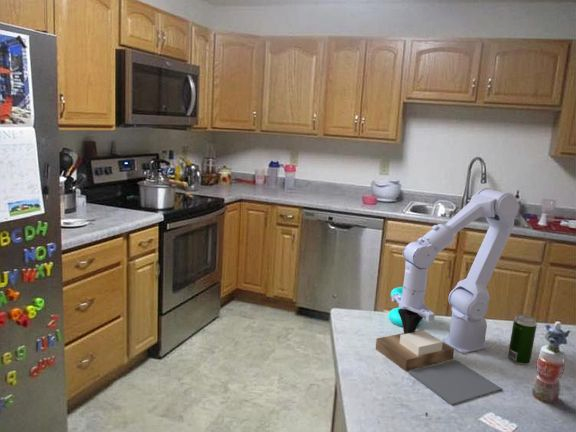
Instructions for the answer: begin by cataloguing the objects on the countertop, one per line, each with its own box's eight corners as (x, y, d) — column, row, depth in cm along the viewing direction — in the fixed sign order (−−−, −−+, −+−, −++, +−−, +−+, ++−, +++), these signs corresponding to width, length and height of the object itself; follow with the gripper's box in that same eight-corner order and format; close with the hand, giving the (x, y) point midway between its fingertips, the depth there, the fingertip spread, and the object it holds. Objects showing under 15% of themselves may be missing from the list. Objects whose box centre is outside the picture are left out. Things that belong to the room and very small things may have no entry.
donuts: (393, 295, 135) (389, 284, 145) (390, 327, 137) (386, 314, 147) (428, 298, 134) (421, 287, 144) (424, 330, 136) (417, 316, 146)
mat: (455, 361, 119) (456, 359, 119) (501, 389, 107) (502, 388, 107) (408, 373, 112) (408, 371, 112) (451, 405, 100) (451, 403, 100)
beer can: (522, 368, 118) (530, 324, 115) (503, 358, 122) (510, 316, 120) (534, 363, 121) (541, 320, 118) (514, 353, 125) (521, 312, 123)
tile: (422, 338, 124) (423, 330, 124) (441, 350, 118) (442, 341, 118) (399, 343, 121) (400, 334, 120) (417, 355, 115) (419, 347, 114)
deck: (420, 339, 130) (422, 329, 130) (452, 359, 120) (454, 348, 119) (375, 348, 123) (376, 338, 123) (405, 371, 113) (406, 359, 112)
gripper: (384, 280, 125) (380, 326, 128) (422, 299, 112) (415, 350, 115) (405, 277, 128) (399, 323, 131) (443, 296, 115) (436, 346, 118)
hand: (408, 335), depth 123 cm, fingers closed
